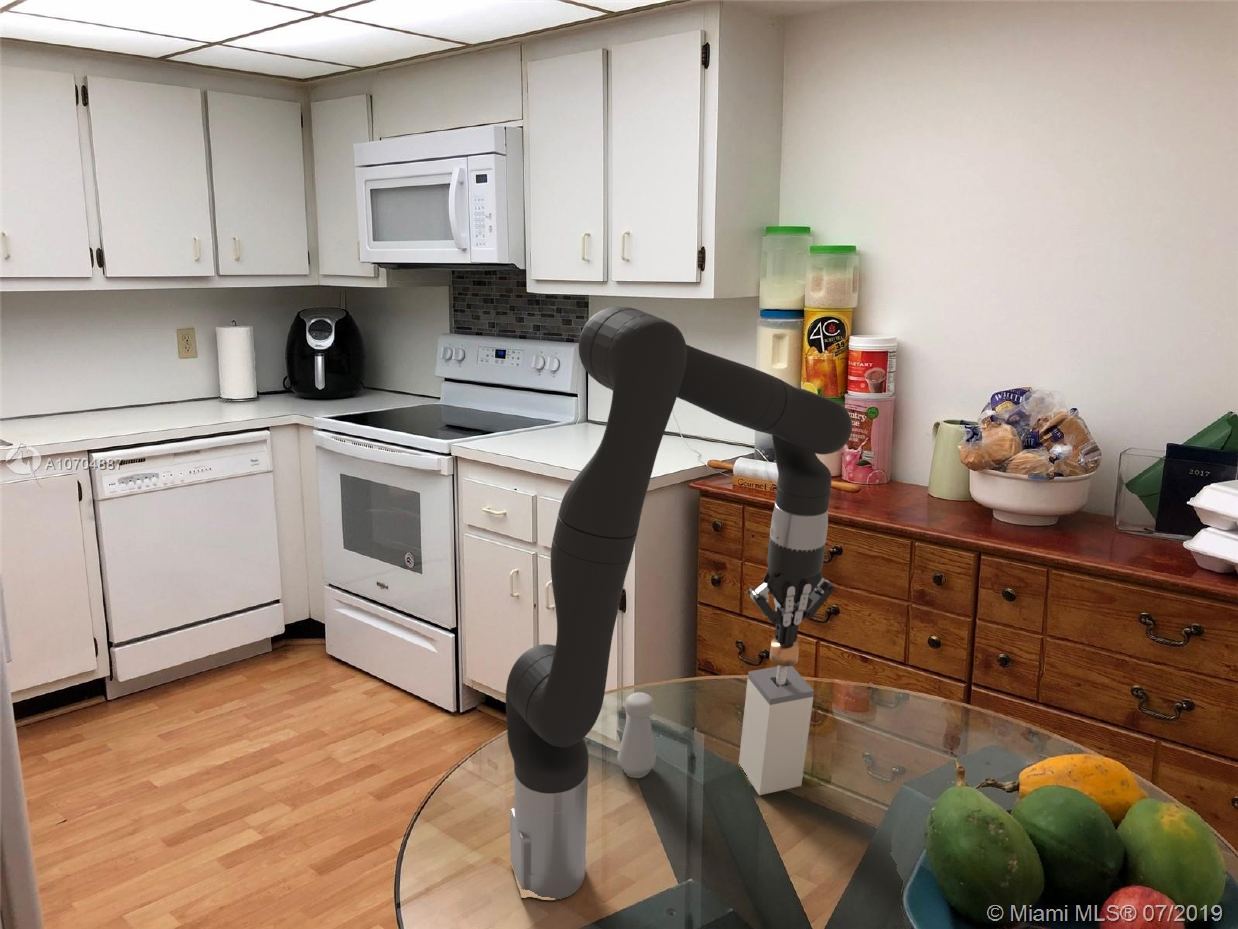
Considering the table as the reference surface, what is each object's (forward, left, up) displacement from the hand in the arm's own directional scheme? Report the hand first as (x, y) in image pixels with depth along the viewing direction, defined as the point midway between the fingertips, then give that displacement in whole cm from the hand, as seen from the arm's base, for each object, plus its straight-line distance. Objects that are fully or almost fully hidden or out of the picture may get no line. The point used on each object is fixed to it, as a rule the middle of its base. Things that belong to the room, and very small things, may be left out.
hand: (785, 644), depth 139 cm
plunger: (0, 0, -17) cm, 17 cm away
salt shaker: (-19, +7, -24) cm, 31 cm away
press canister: (0, 0, -23) cm, 23 cm away
